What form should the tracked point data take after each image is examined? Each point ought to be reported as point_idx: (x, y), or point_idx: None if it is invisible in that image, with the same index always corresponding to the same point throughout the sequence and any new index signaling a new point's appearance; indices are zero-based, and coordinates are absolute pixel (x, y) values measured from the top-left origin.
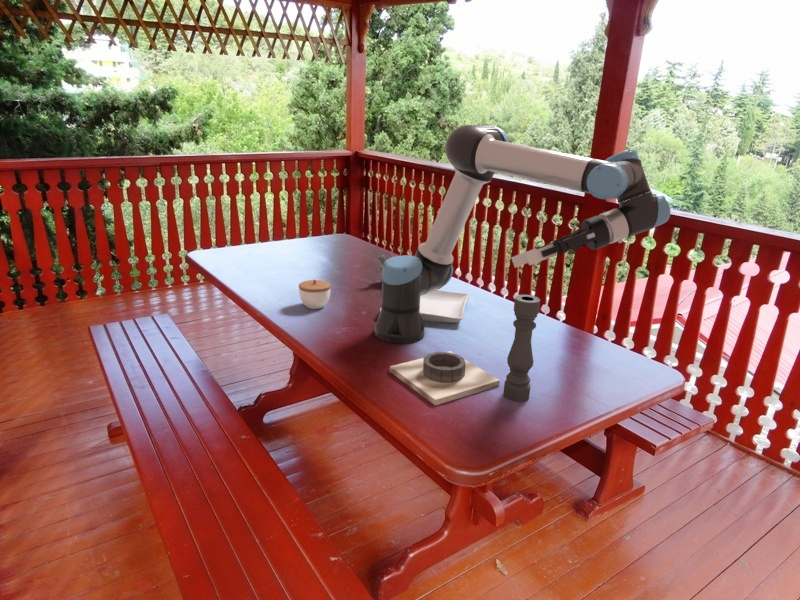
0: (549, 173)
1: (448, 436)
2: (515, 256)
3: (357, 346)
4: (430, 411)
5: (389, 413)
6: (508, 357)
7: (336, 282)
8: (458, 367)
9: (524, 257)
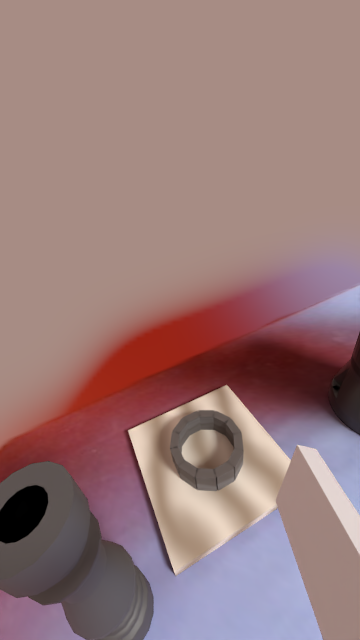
0: None
1: (59, 441)
2: (307, 466)
3: (299, 358)
4: (118, 428)
5: (126, 388)
6: (109, 541)
7: None
8: (178, 459)
9: (324, 550)
